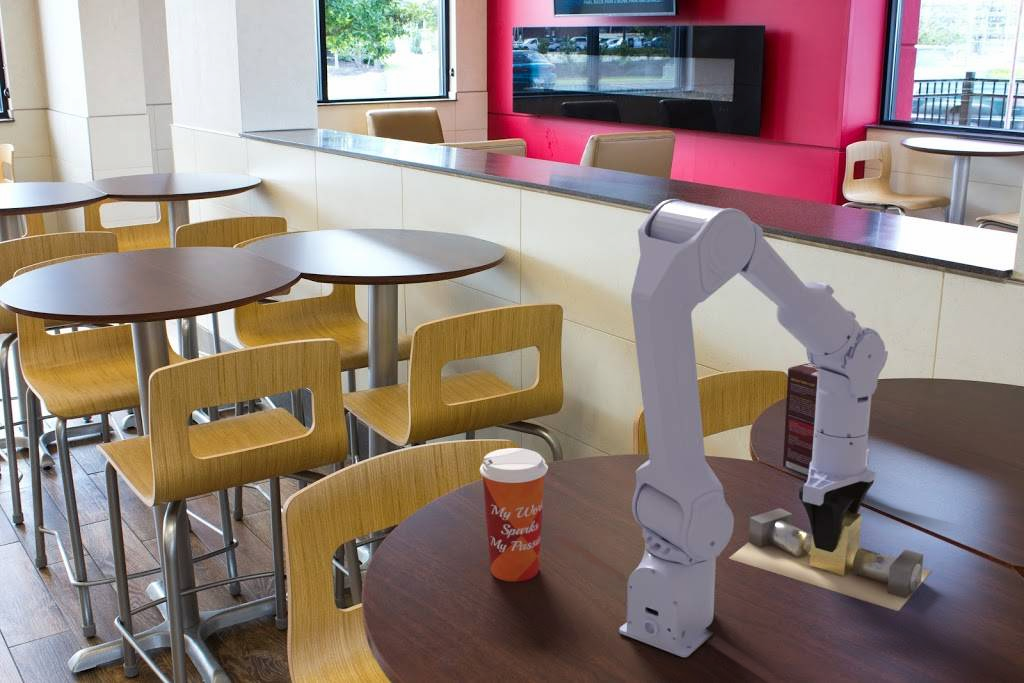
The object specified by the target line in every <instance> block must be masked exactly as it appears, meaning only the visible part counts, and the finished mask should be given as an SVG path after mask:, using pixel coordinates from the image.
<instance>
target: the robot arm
mask: <svg viewBox="0 0 1024 683" xmlns="http://www.w3.org/2000/svg"><path fill="white" fill-rule="evenodd" d="M763 233H764V232H763V227H761V226H759V225H758V224H757V223H755V222H754V221H752V220H751V218H750V217H749V216H748V214H746V213H745V212H743V211H742V210H740V209H737V208H732V207H728V208H727V207H726V208H721V207H716V206H711V205H706V204H705V205H704V204H699V203H694V202H693V203H692V202H687V201H686V200H682V199H679V198H670V199H666V200H663V201H661V202H660V203H658V205H656V206H655V207H654V209H652V211H651V212H650V214H648V216H647V217H646V218H645V220H644V221H643V223H641V225H640V227H639V228H638V230H637V235H638V243H639V244H638V245H639V251H640V252H639V253H640V255H639V260H638V264H637V267H636V272H635V275H634V281H633V285H632V288H631V294H630V298H631V299H630V304H631V311H632V322H633V330H634V337H635V339H634V340H635V348H636V355H637V356H636V357H637V365H638V371H639V382H640V388H641V391H640V392H641V397H642V398H641V399H642V406H643V416H644V425H645V431H646V442H647V449H648V450H647V451H648V458H649V459H648V460H647V461H645V462H644V463H642V464H641V465H640V466H639V467H637V469H636V470H635V478H636V479H635V482H636V484H635V489H634V494H633V497H632V501H631V511H632V516H633V517H634V520H635V522H636V523H638V524H639V525H640V526H641V527H642V538H643V539H644V541H645V544H644V545H645V546H644V552H643V556H642V559H641V561H640V563H639V565H638V566H637V567H636V568H635V569H634V570H633V571H632V573H631V574H630V576H629V577H628V580H627V585H626V586H627V588H626V589H627V593H626V595H627V596H626V600H627V601H626V622H625V623H623V625H621V626H620V627H619V630H618V631H619V633H620V634H621V635H623V636H627V637H629V638H631V639H634V640H637V641H639V642H642V643H644V644H647V645H650V646H653V647H655V648H658V649H660V650H663V651H666V652H668V653H670V654H672V655H675V656H679V657H680V658H687V657H689V656H690V655H692V653H693V652H695V651H696V650H697V649H698V648H699V647H701V645H703V644H704V643H705V642H706V641H707V640H708V639H709V638H711V636H713V635H714V633H713V632H712V631H711V630H709V629H707V628H708V627H709V626H710V625H711V624H712V623H713V620H714V612H715V611H714V610H715V609H714V608H715V586H716V585H715V584H716V562H717V557H719V556H721V553H722V551H724V549H725V548H726V547H727V545H728V543H729V542H730V540H731V538H732V536H733V532H734V526H735V518H734V514H733V511H732V510H731V508H730V506H729V505H728V503H727V501H726V500H725V499H726V498H725V495H724V486H723V484H722V483H721V481H720V479H719V478H718V477H717V476H716V474H715V472H714V471H713V470H712V468H711V467H710V465H709V464H708V462H707V460H706V453H705V444H704V431H703V422H702V411H701V403H700V402H701V401H700V391H699V381H698V370H697V360H696V350H695V341H694V339H695V338H694V331H693V330H694V329H693V320H692V312H693V311H694V309H695V308H696V307H697V306H698V305H699V304H700V303H703V302H705V301H706V300H707V299H708V298H710V297H711V296H712V295H714V293H715V292H717V291H718V290H719V289H720V288H722V287H723V286H725V284H727V283H728V282H729V281H731V279H733V278H734V277H736V275H738V274H739V275H740V276H741V277H743V278H744V279H745V280H746V281H747V282H749V283H750V284H751V285H752V286H753V287H754V288H756V289H757V290H758V291H759V292H761V293H762V294H763V295H764V296H765V297H767V299H769V300H770V302H771V301H772V302H773V304H775V305H776V306H777V307H776V319H777V321H778V322H779V325H781V326H782V327H783V328H784V329H785V330H786V331H787V332H788V333H790V334H791V335H792V336H793V338H794V339H796V340H797V342H799V343H800V344H801V345H802V346H803V347H804V348H805V350H806V356H807V360H808V362H809V363H810V364H814V365H815V366H817V367H819V368H818V379H817V394H816V409H815V423H814V437H813V452H812V461H811V462H810V466H809V474H808V476H807V480H806V482H805V483H804V484H803V485H802V486H800V487H799V488H798V498H799V500H800V502H801V503H802V504H803V507H804V509H805V511H806V514H807V516H808V520H809V525H810V529H811V536H812V535H813V540H814V544H815V548H818V549H821V550H825V551H828V552H833V551H834V550H835V548H836V546H837V543H838V539H839V534H840V530H841V525H842V522H843V519H844V516H845V514H846V512H847V511H851V512H855V513H858V514H859V511H860V508H861V505H862V503H863V500H864V499H865V497H866V495H867V493H868V491H869V490H870V488H871V487H872V485H873V484H874V482H875V479H876V478H877V477H876V476H877V472H876V471H874V470H871V469H868V466H869V465H870V457H871V456H870V455H871V449H869V448H868V439H869V429H870V417H871V416H870V415H871V405H872V395H874V393H875V392H876V390H877V389H878V380H879V376H880V374H881V372H882V371H883V369H884V367H885V366H886V363H887V360H888V357H889V351H888V350H886V346H885V343H884V341H883V339H882V337H881V336H880V334H879V333H878V331H876V330H875V329H872V328H870V327H866V326H862V325H860V323H859V321H858V320H856V317H857V315H856V313H855V312H854V311H853V310H850V309H846V308H845V307H844V306H843V305H842V304H841V303H840V302H839V301H838V300H837V299H836V298H835V297H834V296H833V294H834V293H835V289H833V288H832V287H831V286H830V284H827V283H823V282H816V281H812V280H811V281H802V279H800V277H798V275H797V274H796V273H795V272H794V271H793V270H792V268H791V267H790V266H789V265H788V264H787V262H786V261H785V260H784V259H783V258H782V257H781V256H780V255H779V253H778V252H777V251H776V250H775V249H774V248H773V246H772V245H771V244H770V243H769V242H768V240H767V239H766V238H765V237H764V234H763Z"/></svg>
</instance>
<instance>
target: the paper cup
mask: <svg viewBox="0 0 1024 683" xmlns="http://www.w3.org/2000/svg"><path fill="white" fill-rule="evenodd" d="M548 469H549V466H548V464H547V463H546V460H545V459H544V458H543V457H542V454H540V453H538V452H537V451H534V450H531V449H527V448H517V447H509V448H500V449H496V450H494V451H493V450H492V451H490V452H488V453H487V454H486V455H484V457H483V460H482V464H481V465H480V467H479V472H480V475H481V476H482V481H483V494H484V509H485V510H484V511H485V522H486V532H487V533H486V534H487V543H488V554H489V564H490V572H491V575H492V576H493V577H494V578H496V579H498V580H500V581H503V582H510V583H518V582H525V581H528V580H531V579H533V578H535V577H536V576H537V575H538V572H539V569H540V568H539V567H540V559H541V558H540V555H541V544H542V542H541V539H542V524H543V506H544V490H545V488H544V485H545V475H546V474H547V472H548Z"/></svg>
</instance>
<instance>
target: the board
mask: <svg viewBox="0 0 1024 683" xmlns="http://www.w3.org/2000/svg"><path fill="white" fill-rule="evenodd" d="M777 520H782V521H784V522H786V523H788V524H790V525H792V524H793V523H792V522H793V513H791V512H789V511H787V510H785V509H784V508H783V509H782V508H781V507H779V508H776V509H773V510H769V511H767V512H764V513H761V514H758V515H757V514H756V515H753V516H750V517H749V529H748V542H746V544H744V545H743V546H742V547H740V548H739V549H738V550H737V551H735V552H734V553H733V554H731V555H730V556H729V557H728V558H727V559H728V560H731V561H735V562H738V563H741V564H744V565H747V566H750V567H752V568H753V567H754V568H757V569H761V570H763V571H767V572H770V573H772V574H776V575H780V576H782V577H785V578H786V577H787V578H790V579H793V580H795V581H800V582H803V583H806V584H809V585H813V586H815V587H819V588H822V589H825V590H828V591H832V592H835V593H837V594H841V595H844V596H847V597H851V598H854V599H857V600H861V601H863V602H868V603H870V604H874V605H876V606H881V607H883V608H887V609H890V610H894V611H896V612H899V611H900V610H901V609H902V607H904V605H905V604H906V603H907V602H908V600H909V599H910V598H911V596H913V594H914V593H916V590H915V591H911V589H910V581H911V576H912V572H913V569H914V567H915V565H916V564H920V565H921V576H920V581H919V584H918V586H917V589H918V588H919V587H920V586H921V585H922V583H923V582H924V581H925V579H926V578H927V577H928V576H929V575H930V574H931V572H932V570H929V569H925V568H924V567H923V562H924V554H923V553H920V552H917V551H913V550H909V549H904V550H903V551H902V552H901V553H900V554H899V556H898V557H896V558H897V559H896V560H895V561H894V562H893V563H892V564H891V566H890V569H889V580H888V584H887V583H884V582H880V581H877V580H874V579H870V578H867V577H863V576H860V575H857V574H854V573H853V567H852V568H851V569H850V570H849V571H848V572H847V573H846V574H845V575H844V576H843V575H839V574H836V573H833V572H830V571H827V570H823V569H820V568H817V567H814V566H811V565H810V555H811V551H810V552H809V553H808V554H807V555H806V556H805V557H802V558H799V557H797V556H795V555H793V554H791V553H789V552H787V551H786V550H784V549H782V548H780V547H778V546H776V545H774V544H772V543H770V542H769V540H768V530H769V528H770V526H771V525H772V523H773V522H775V521H777ZM792 526H793V525H792Z"/></svg>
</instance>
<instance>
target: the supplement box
mask: <svg viewBox="0 0 1024 683" xmlns="http://www.w3.org/2000/svg"><path fill="white" fill-rule="evenodd" d="M818 368H819V367H817V366H815V365H814V364H810V362H809V363H803V364H799V365H794V366H791V367H788V368H787V382H786V384H787V385H786V401H785V403H786V404H785V420H784V421H785V424H784V437H783V458H782V467H784V468H786V469H788V470H792V471H794V472H796V473H799V474H801V475H803V476H807V477H808V474H809V466H810V462H811V461H812V452H813V437H814V423H815V409H816V394H817V379H818Z"/></svg>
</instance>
